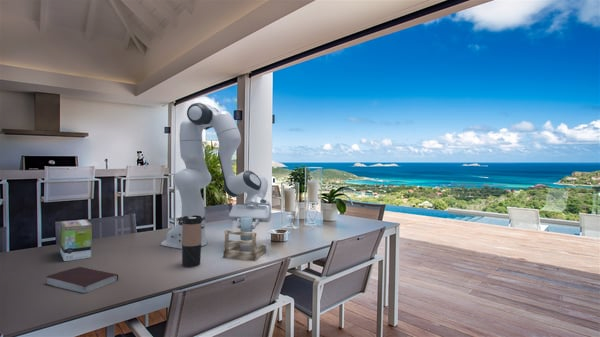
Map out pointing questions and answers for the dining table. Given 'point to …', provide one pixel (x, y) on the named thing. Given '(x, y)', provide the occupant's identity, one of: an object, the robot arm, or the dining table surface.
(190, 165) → the robot arm
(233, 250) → the rack
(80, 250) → the tea box
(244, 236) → the grey upright block
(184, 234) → the travel mug
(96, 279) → the book
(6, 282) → the dining table surface
